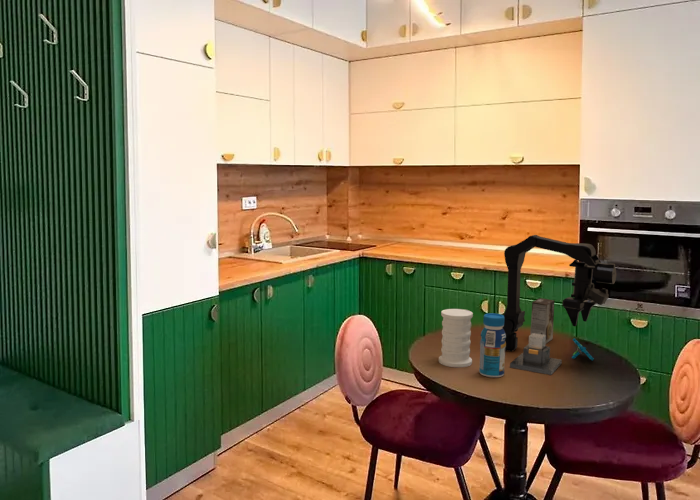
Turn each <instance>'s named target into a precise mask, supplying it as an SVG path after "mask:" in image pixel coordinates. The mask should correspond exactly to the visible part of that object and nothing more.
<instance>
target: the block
mask: <svg viewBox="0 0 700 500" xmlns="http://www.w3.org/2000/svg"><path fill="white" fill-rule="evenodd" d="M528 344H529V345H528ZM528 344H527V345H528V348H529V349H535V350H541V351H543V350H544V349H545V346H546V345H547V343H546V335H543V334H536V333H532V334H531V333H530V335H528Z"/></svg>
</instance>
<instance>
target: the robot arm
mask: <svg viewBox="0 0 700 500" xmlns="http://www.w3.org/2000/svg"><path fill="white" fill-rule="evenodd" d="M534 248H539V249H543V250H547V251H549V252H550V251H551V252H555V253H559V254H563V255H566V256H568V257H569V258H571V259H573V261H572V262H571V263H569V265H568V266H569V267H572V268H573V267H574V280H573V282H571V287H573V292H572V293H571V294H570V296H568V297H566V298H564V299H563V300H562V303H561V305H562V307H563V308H564V310H565V311H566V314H567V315H568V317H569V320H570V322H571V326H572V327H577V324H578V320H579V315H580V313H581V319H582V321H583V322H587V321H588V319H589V316H590V313H591V311H592V308H593V307H594V306H596V305H598V306H602V305H604V304H606V303H607V300H608V299H609V296H610V295H609V290H608V288H607V289H606V288H603V287H602V289H598V288H595V284H594V282H592V281H593V280H594V281H595V282H596V283H603V284H610V285H614V284H616V283H615V282H616V279H617V274H618V273H617V269H616V264H615V263H605V262H602V261H601V259H600V258H599V256H598V255H597V253H596V251H597V250H596V249H595V247H594V246H593V244H590V243H578V242H577V243H576V242H574V243H573V242H565V241H561V240H557V239H552V238H549V237H545V236H540V235H537V234H532V235H530V236H528V237H526V239H525V238H524V240H522V241H520V242H518V243H516V244H514V245H509V246H508V247H506V248H505V249H504V253H503V255H504V262H505V265H506V268H507V295H506V296H507V297H506V299H507V300H506V308H505V311H504V313H503V316H504V318H505V320H504V326H503V327H502V328H503V329H504V331H505V334H506V338H505V342H506V347H505V352H514V351H515V350H516V349H518V338H519V337H518V336H517V332H518V330H519V329H520V328H521V327H522V326H524V322H526V320H525V314H526V311H525V310H522V309H521V306H520V305H521V303H520V301H521V276H522V273H521V272H522V271H521V270H522V267H523V264H524V262H525V257H526V253H528V252H530V251H531V250H532V249H534Z"/></svg>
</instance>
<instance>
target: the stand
mask: <svg viewBox="0 0 700 500" xmlns="http://www.w3.org/2000/svg"><path fill="white" fill-rule="evenodd" d="M528 345H529V343H528V344H527V345H525V346H524V347H523V350H522V351H523V352H521V354H519V355H518V356H517V357H516V358H515V359H513V360H512V361H511V362H510V363H509V368H511V369H517V370H521V371H527V372H532V373H539V374H542V375H543V374H544V375H549V376H552V375H553V374H554V373H555V372H556V371H557V369H558V368H560V366H561V365H562V359H560V358H559V359H558V358H555V357H554V358H553V357H550V355H551V353H550V352H551V346H547V345H545V349H544V350H543V351H541V350H535V349H529V348H528Z"/></svg>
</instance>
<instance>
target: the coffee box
mask: <svg viewBox="0 0 700 500" xmlns="http://www.w3.org/2000/svg"><path fill="white" fill-rule="evenodd" d="M554 317H555V300H554V299H549V298H539V297H538V298H537V299H536V300H534V301H532V302H531V317H530V318H531V319H530V335H531V334H532V333H536V334H543V335H546V344H548V343H549V342H550V341H552V340H553V335H554V320H555V319H554Z"/></svg>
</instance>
